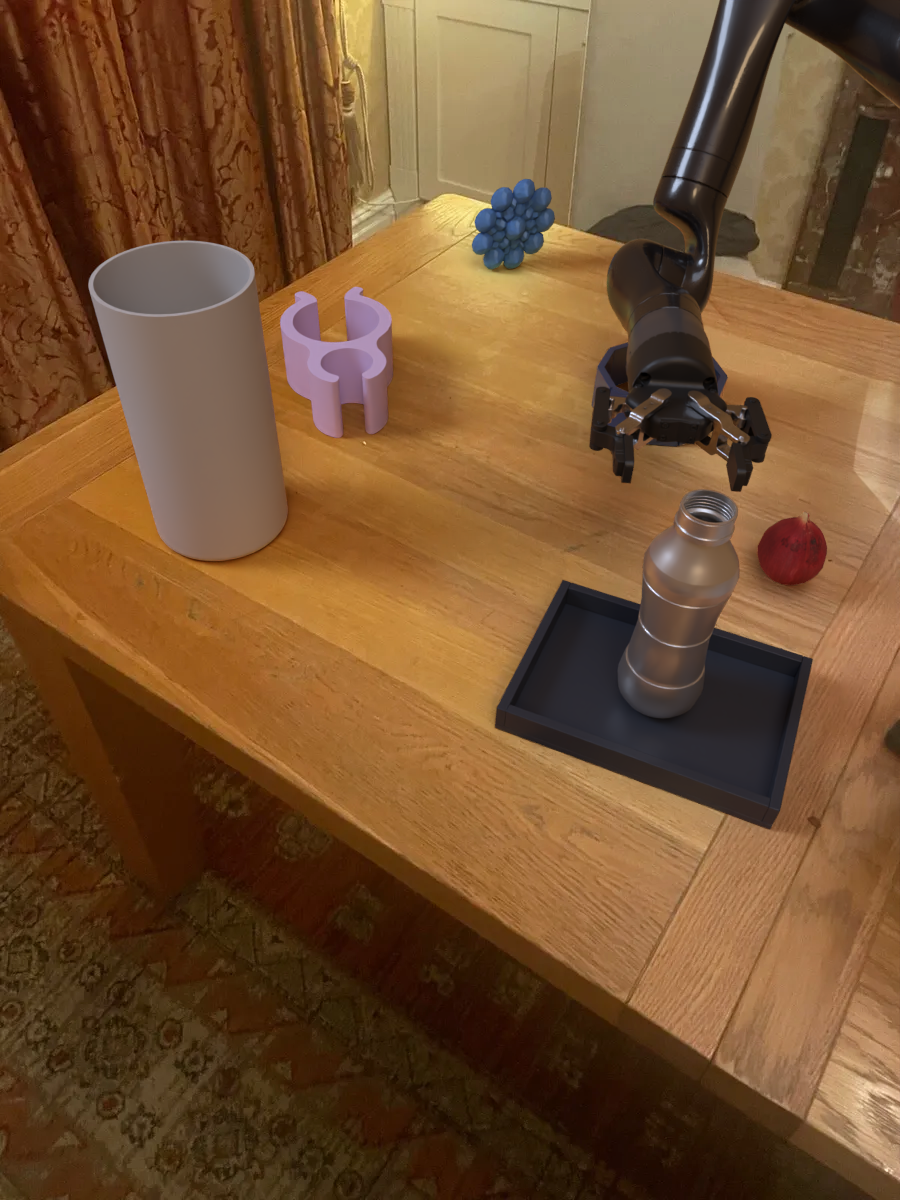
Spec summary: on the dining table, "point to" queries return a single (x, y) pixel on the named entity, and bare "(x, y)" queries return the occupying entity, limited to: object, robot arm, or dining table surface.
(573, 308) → the dining table surface
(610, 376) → the blue faceted ring
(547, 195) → the grapes
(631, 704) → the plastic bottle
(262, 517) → the cylinder vase
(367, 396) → the clip
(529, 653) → the tray
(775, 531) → the onion
